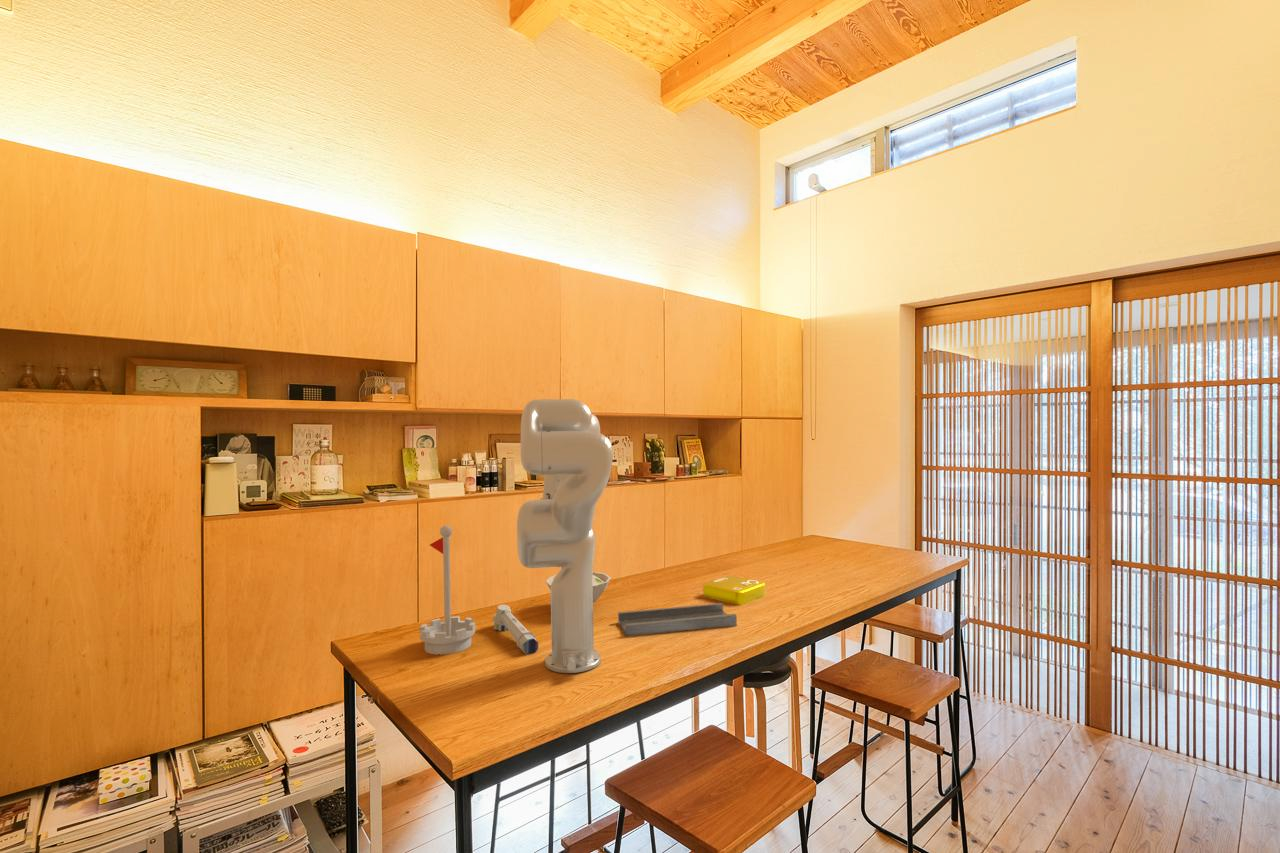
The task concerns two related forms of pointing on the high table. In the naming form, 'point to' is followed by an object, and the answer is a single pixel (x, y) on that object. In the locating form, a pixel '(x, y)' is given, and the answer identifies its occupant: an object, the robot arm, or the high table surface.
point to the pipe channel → (675, 619)
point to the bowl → (598, 583)
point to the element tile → (734, 590)
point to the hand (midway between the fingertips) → (564, 530)
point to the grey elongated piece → (515, 629)
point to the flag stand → (446, 613)
